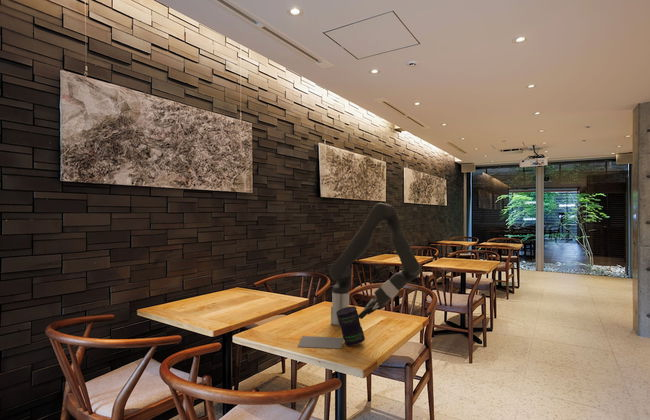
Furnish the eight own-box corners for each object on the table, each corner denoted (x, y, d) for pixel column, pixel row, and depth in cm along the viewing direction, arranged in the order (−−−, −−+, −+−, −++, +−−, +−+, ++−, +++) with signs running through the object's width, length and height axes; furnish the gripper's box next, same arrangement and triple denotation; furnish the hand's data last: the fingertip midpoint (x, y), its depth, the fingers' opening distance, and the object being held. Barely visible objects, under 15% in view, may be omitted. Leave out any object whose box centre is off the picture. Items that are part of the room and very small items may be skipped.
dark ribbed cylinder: (342, 341, 175) (333, 311, 175) (361, 334, 178) (352, 304, 178) (348, 348, 166) (339, 316, 166) (368, 340, 168) (359, 308, 168)
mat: (297, 347, 167) (297, 346, 167) (302, 336, 181) (302, 336, 181) (341, 348, 165) (341, 348, 165) (343, 338, 179) (343, 337, 179)
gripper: (380, 283, 177) (353, 307, 178) (382, 289, 164) (353, 315, 165) (391, 294, 177) (364, 319, 178) (393, 301, 164) (365, 327, 165)
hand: (359, 317), depth 171 cm, fingers closed
